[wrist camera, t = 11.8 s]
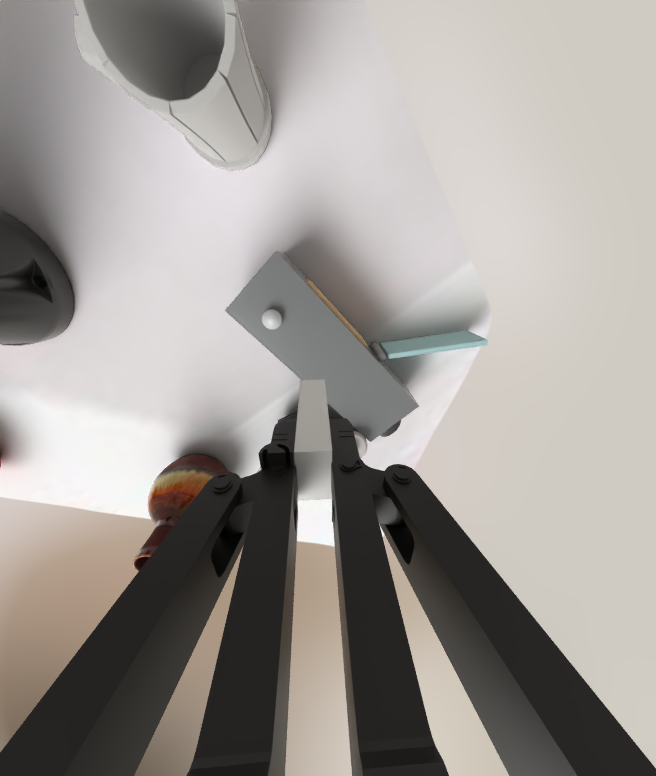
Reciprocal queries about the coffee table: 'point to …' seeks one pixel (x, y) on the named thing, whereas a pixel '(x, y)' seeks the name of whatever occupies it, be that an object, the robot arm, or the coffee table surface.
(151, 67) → the cup
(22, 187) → the coffee table surface
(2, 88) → the coffee table surface
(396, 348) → the side door
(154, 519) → the vase
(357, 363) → the long gray box
